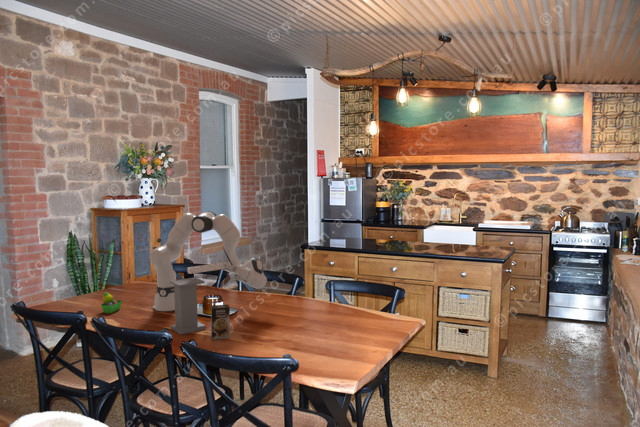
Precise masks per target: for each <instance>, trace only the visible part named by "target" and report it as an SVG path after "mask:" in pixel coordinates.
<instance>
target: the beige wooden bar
mask: <svg viewBox="0 0 640 427" xmlns="http://www.w3.org/2000/svg"><path fill="white" fill-rule="evenodd" d="M226 264H228V265H231V264H230V262H229V261H225V262H216V263H211V264H204V265H203V264H202V265H195V266H189V267H187V274H190V275H191V274H198V273H204V272H212V271H218V270H223V269H226V267H225V265H226Z"/></svg>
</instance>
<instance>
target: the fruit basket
mask: <svg viewBox="0 0 640 427" xmlns="http://www.w3.org/2000/svg"><path fill="white" fill-rule="evenodd" d="M102 300H103V303H101V304H100V307H101V309H102V312H103V313H104V314H112V313H114V312H117V311H118V310H120V309H121V306H122V303H123V300H120V299H119V300H118V299H114V296H113V295H112V294H110V293H109V292H107V291H106V292H104V293H103V297H102Z"/></svg>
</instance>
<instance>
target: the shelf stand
mask: <svg viewBox="0 0 640 427" xmlns="http://www.w3.org/2000/svg"><path fill="white" fill-rule="evenodd" d="M170 283H171V284H173V285H174V295H175V310H174V322H175V323H174V324H172V325H170V328H171V330H172V331H174V332H175V333H177V334H179V335H186V334H190V333H194V332H199V331H204V330H206V329H207V328H206V327H207V326H206V325H205V324H204V323H202V322H200V321H198V317H199V316H198V285H202V284H205V280H202V279H199V278H198V277H189V278H181V279H176V280H174V281H170Z"/></svg>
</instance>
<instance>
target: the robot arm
mask: <svg viewBox="0 0 640 427" xmlns="http://www.w3.org/2000/svg"><path fill="white" fill-rule="evenodd" d="M212 230H213V231H215V232H216V233H217V235H218V236H219V238H220V239H221V241H222V244H223V246H222V249H223V252H224V255H225V256H226V258H227V261H228V262H230V265H228V264H226V265H225V267H226V269H222V271H226V272H227V273H231V274H232V275H233V274H234V276H235V279H236V281H238V282H241V283H243V284H246V285H248V286H249V287H250V288H254V289H257V290H260V289H262V288H264V287H265V286H266V285H267V282H268V278H267V277H266V276H265V274H264V263H263V261H262V260H261V259H259V258H257V257H252V258H250V259H249V260H247V261H245V262H244V263H243V264H242V263H241V261H240V259H239V257H238V256H237V252H236V248H237V247H238V244H239V243H240V240H241V232H240V230H239V229H238V228H237V225H236V224H235V223H234V222H233V221H232V219H230V217H228V216H227V215H226V214H225V213H220V214H218V215H217V213H215V212H214V211H210V210H209V211H205V212H201V213H199V214H197V215H195V214H193V213H191V212H185V213H184V214H183V215H182V216H181V217H179V219H178V220H177V221H176V223H175V224H174V225H173V227H172V228H171V230H170V231H169V233H168V234H167V240H166V242H165V244H163V245H162V246H158V247H156V248H154V249H153V250H151V251H150V254H149V256H148V258H149V261H150V263H151V264H152V265H153V266H154V269H155V272H156V283H157V284H156V289H155V290H156V293H155V295H154V303H153V304H154V305H153V306H152V309H154V310H155V311H157V312H172V311H175V295H174V285H173V284H171V283H170V281H174V280H177V274H176V273H177V272H176V271H175V270H174V268H173V265H172V262H175V261H176V260H178V259H179V258H180V257H181V255H182V251H183V248H184V245H185V244H186V242H187V241H188V240H189V238H190V236H192V234H193V232H194V231H195V233H198V234H201V233H202V234H203V233H206V232H209V231H212Z"/></svg>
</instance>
